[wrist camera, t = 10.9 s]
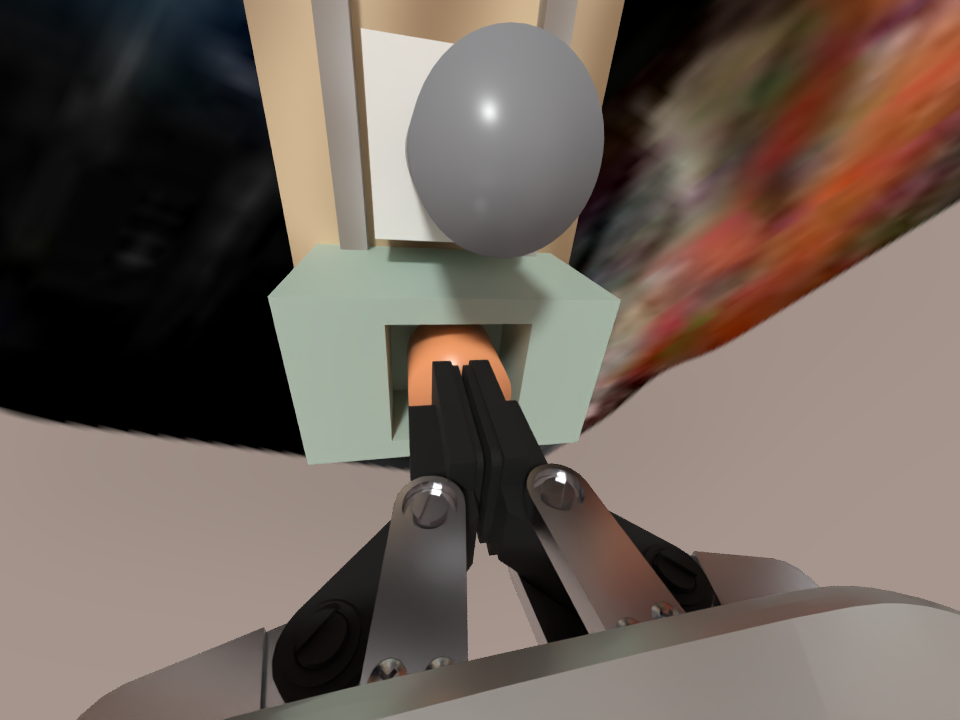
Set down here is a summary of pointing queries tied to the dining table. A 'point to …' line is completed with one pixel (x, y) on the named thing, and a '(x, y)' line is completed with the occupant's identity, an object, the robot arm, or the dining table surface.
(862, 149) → the dining table surface
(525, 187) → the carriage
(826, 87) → the dining table surface
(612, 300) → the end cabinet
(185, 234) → the dining table surface
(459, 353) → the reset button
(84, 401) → the dining table surface
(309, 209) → the track
